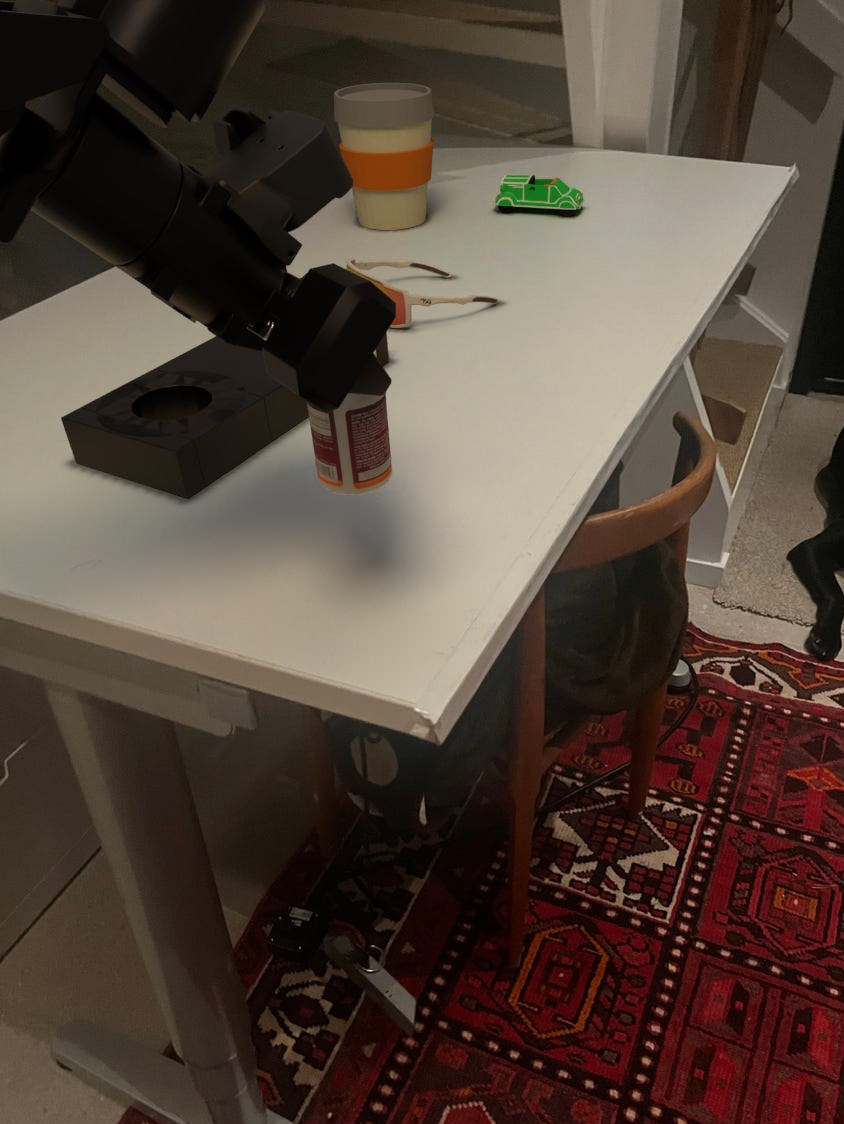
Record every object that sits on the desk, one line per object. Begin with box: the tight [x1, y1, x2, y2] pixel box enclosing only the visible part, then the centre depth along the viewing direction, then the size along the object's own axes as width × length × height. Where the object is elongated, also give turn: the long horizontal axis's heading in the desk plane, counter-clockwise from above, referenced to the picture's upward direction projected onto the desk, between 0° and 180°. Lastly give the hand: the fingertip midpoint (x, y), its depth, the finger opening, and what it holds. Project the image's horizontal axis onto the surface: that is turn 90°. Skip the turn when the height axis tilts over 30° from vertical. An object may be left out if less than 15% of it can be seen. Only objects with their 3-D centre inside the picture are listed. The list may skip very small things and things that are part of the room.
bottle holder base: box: [60, 331, 390, 499], centre depth 80 cm, size 28×12×4 cm, turn 151°
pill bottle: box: [307, 350, 393, 496], centre depth 56 cm, size 5×5×8 cm
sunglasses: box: [345, 258, 500, 329], centre depth 99 cm, size 14×15×5 cm
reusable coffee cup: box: [333, 82, 435, 231], centre depth 119 cm, size 13×13×15 cm
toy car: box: [491, 174, 585, 218], centre depth 125 cm, size 12×5×4 cm, turn 75°
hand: (364, 374), depth 55 cm, fingers closed on pill bottle, 4 cm apart
